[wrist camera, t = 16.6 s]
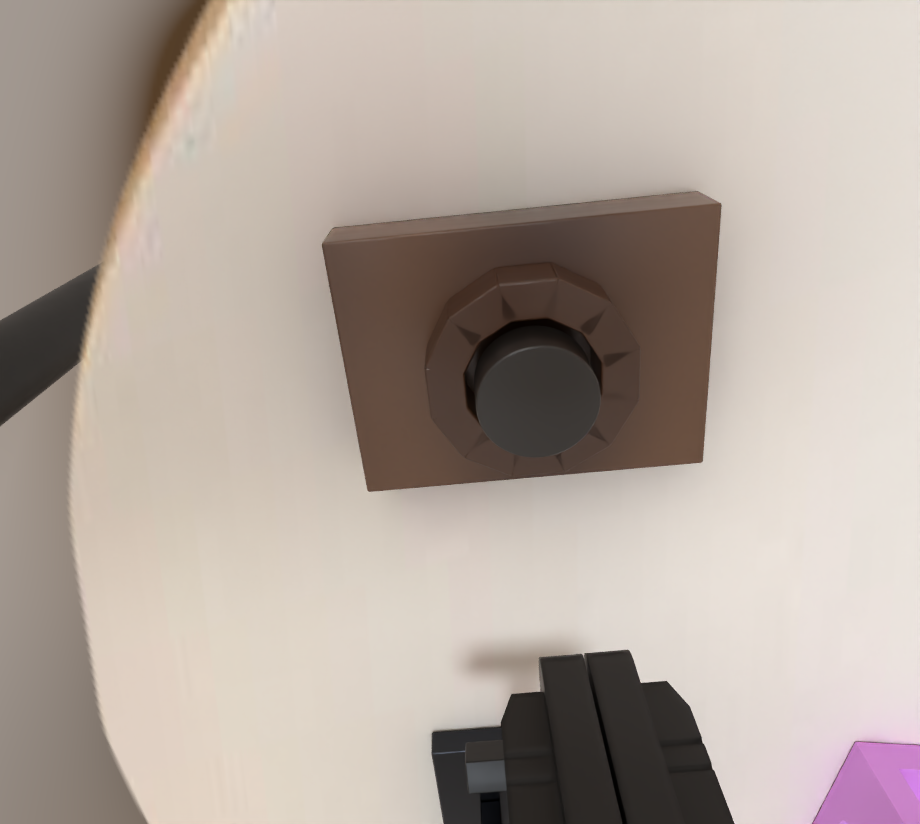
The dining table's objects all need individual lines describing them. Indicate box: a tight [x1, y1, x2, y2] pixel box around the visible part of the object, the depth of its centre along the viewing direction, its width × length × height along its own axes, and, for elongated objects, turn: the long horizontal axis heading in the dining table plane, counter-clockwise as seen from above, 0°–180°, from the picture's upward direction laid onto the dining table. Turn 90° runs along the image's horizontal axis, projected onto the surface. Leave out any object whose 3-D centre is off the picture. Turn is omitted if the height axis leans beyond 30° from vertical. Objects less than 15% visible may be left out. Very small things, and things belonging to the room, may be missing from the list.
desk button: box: [474, 325, 601, 458], centre depth 21 cm, size 4×4×2 cm
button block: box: [322, 191, 721, 492], centre depth 23 cm, size 12×9×4 cm
